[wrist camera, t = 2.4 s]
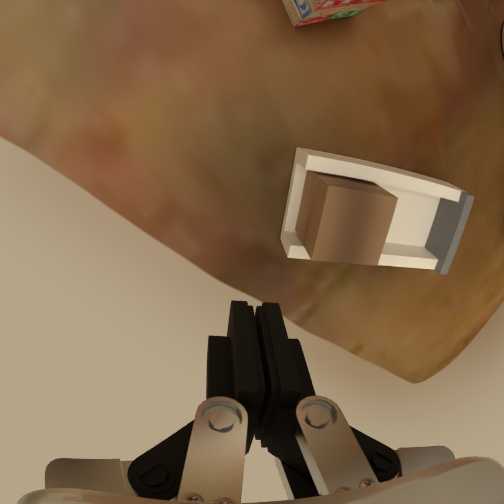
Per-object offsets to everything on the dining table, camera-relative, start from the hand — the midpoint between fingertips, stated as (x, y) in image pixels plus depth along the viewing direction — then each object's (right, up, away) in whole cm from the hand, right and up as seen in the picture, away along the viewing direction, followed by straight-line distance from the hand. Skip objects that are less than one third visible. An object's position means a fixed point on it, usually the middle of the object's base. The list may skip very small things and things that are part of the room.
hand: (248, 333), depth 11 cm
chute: (+12, +8, +19) cm, 23 cm away
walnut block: (+8, +8, +17) cm, 20 cm away
